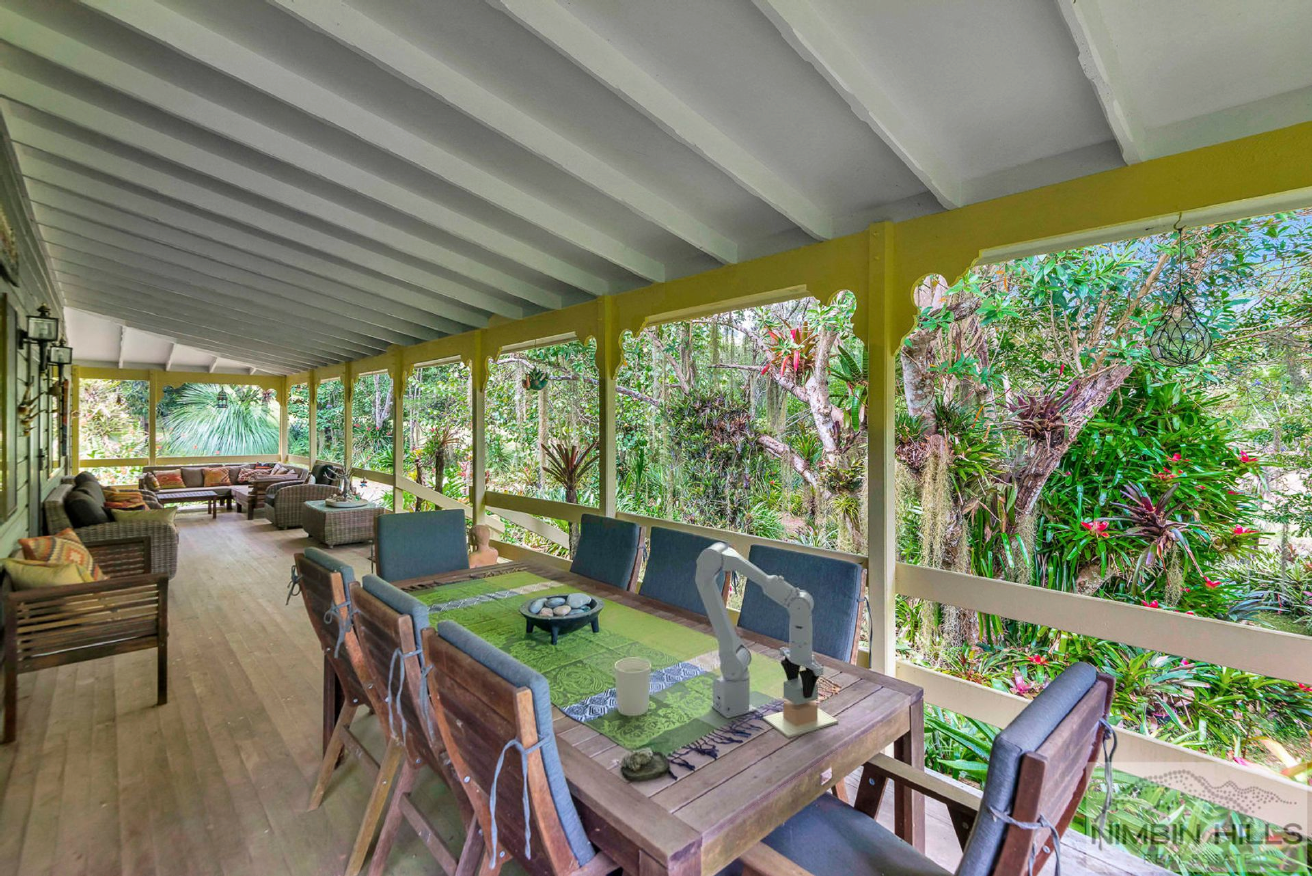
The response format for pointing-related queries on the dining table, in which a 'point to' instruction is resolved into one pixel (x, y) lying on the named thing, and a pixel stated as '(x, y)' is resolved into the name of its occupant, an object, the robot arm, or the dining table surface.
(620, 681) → the candle holder
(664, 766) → the dark green oval dish
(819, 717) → the baseboard
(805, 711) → the terracotta brick
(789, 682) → the slate brick
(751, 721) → the dining table surface
